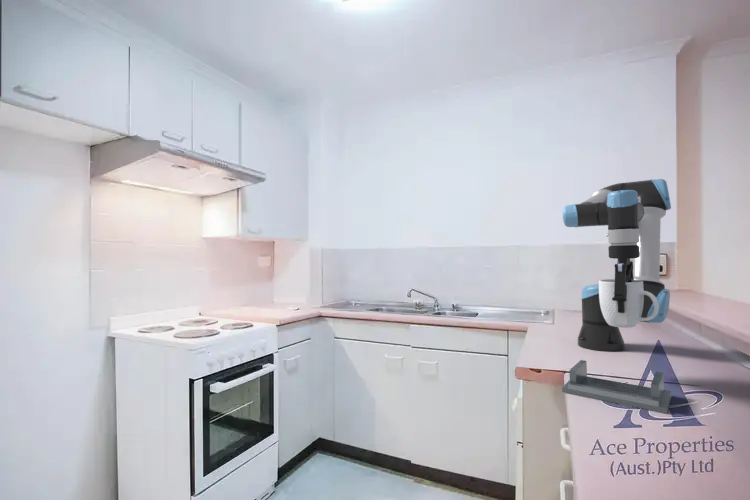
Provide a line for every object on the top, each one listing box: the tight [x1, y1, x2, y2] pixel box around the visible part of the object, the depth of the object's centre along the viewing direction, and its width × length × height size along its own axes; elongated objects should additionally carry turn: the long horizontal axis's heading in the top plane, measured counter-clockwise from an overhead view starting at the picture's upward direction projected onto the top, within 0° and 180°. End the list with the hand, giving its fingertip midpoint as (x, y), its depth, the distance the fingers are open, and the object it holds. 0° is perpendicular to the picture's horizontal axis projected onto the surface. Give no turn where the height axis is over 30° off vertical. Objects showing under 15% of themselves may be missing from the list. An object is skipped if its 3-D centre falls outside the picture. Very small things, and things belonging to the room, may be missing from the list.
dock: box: [561, 359, 672, 415], centre depth 100 cm, size 13×22×6 cm, turn 49°
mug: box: [598, 278, 659, 329], centre depth 112 cm, size 15×11×13 cm
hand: (625, 320), depth 113 cm, fingers closed on mug, 11 cm apart
